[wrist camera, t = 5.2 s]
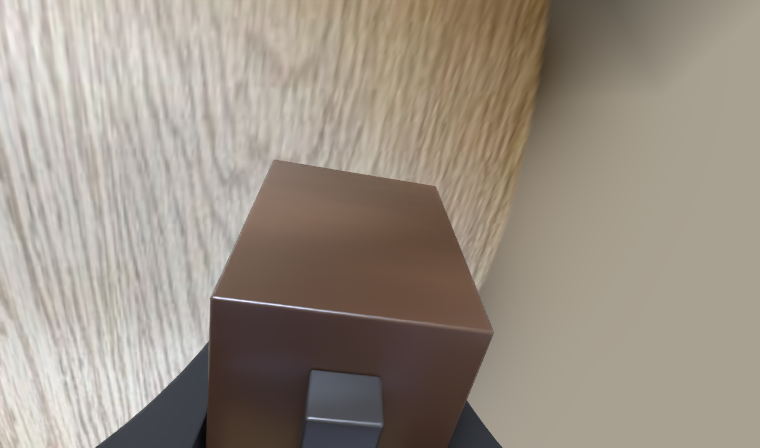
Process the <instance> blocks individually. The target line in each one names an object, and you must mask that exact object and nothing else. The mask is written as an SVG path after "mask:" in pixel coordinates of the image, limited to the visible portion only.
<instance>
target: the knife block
mask: <svg viewBox="0 0 760 448" xmlns="http://www.w3.org/2000/svg"><path fill="white" fill-rule="evenodd" d="M493 333H494V332H493V329H492V326H491V324H490V321H489V319H488V316H487V314H486V311H485V309H484V306H483V304H482V301H481V299H480V296H479V294H478V291H477V288H476V286H475V283H474V281H473V278H472V276H471V273H470V271H469V268H468V266H467V263H466V261H465V258H464V256H463V253H462V251H461V248H460V246H459V243H458V241H457V238H456V236H455V233H454V231H453V228H452V226H451V223H450V221H449V218H448V216H447V213H446V211H445V208H444V206H443V203H442V201H441V198H440V196H439V193H438V191H437V188H436V187H435V186H430V185H424V184H418V183H412V182H406V181H400V180H394V179H388V178H382V177H376V176H370V175H364V174H358V173H351V172H345V171H339V170H333V169H327V168H321V167H315V166H309V165H303V164H297V163H291V162H285V161H279V160H274V161H273V162H272V165H271V167H270V169H269V171H268V173H267V176H266V178H265V180H264V182H263V184H262V186H261V189H260V191H259V193H258V195H257V197H256V200H255V202H254V204H253V206H252V208H251V210H250V213H249V215H248V217H247V219H246V221H245V224H244V226H243V228H242V230H241V232H240V235H239V237H238V239H237V241H236V243H235V245H234V248H233V250H232V252H231V254H230V256H229V259H228V261H227V263H226V265H225V267H224V270H223V272H222V274H221V276H220V278H219V280H218V283H217V285H216V287H215V289H214V291H213V294H212V296H211V298H210V328H209V362H208V396H207V430H206V448H447V447H448V445H449V442H450V440H451V437H452V435H453V432H454V430H455V427H456V425H457V422H458V420H459V418H460V415H461V413H462V410H463V408H464V405H465V403H466V400H467V398H468V395H469V393H470V390H471V388H472V386H473V383H474V381H475V378H476V376H477V373H478V371H479V368H480V366H481V364H482V361H483V359H484V356H485V354H486V351H487V349H488V346H489V344H490V341H491V339H492V336H493Z"/></svg>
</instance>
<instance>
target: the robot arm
mask: <svg viewBox="0 0 760 448" xmlns="http://www.w3.org/2000/svg"><path fill="white" fill-rule="evenodd" d="M208 362H209V342H208V343H207V344H206V345H205V346H204V348H203V349H202V350H201V351H200V352H199V353H198V355H197V356H196V357H195V358H194V359H193V360H192V361H191V362H190V363H189V365H188V366H187V367H186V368H185V369H184V370H183V371H182V372H181V373H180V374H179V375H178V376H177V377H176V378H175V379H174V380H173V381H172V382H171V383H170V384H169V385H168V386H167V387H166V388H165V389H164V390H163V391H162V392H161V393H160V394H159V395H158V396H157V397H156V398H155V399H154V400H153V401H151V402H150V403H149V404H148V405H147V406H146V407H145V408H144V409H143V410H141V411H140V412H139V413H138V414H137V415H136V416H134V417H133V418H132V419H131V420H130V421H129V422H127V423H126V424H125V425H124V426H122V427H121V428H120V429H119V430H117V431H116V432H115V433H114V434H112V435H111V436H110V437H108V438H107V439H106V440H105V441H103V442H102V443H101V444H99V445H98V446H97V447H95V448H206V430H207V396H208ZM447 448H502V447H501V445H500V444H499V443H498V442H497V441H496V440H495V438H494V437H493V436H492V434H491V433H490V432H489V431H488V429H487V428H486V427H485V425H484V424H483V423H482V421H481V420H480V419H479V417H478V416H477V414H476V413H475V412H474V410H473V409H472V407H471V406H470V404H469V403H468V401H467V400H466V403H465V405H464V408H463V410H462V413H461V415H460V418H459V420H458V422H457V425H456V427H455V430H454V432H453V435H452V437H451V440H450V442H449V445H448V447H447Z"/></svg>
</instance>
